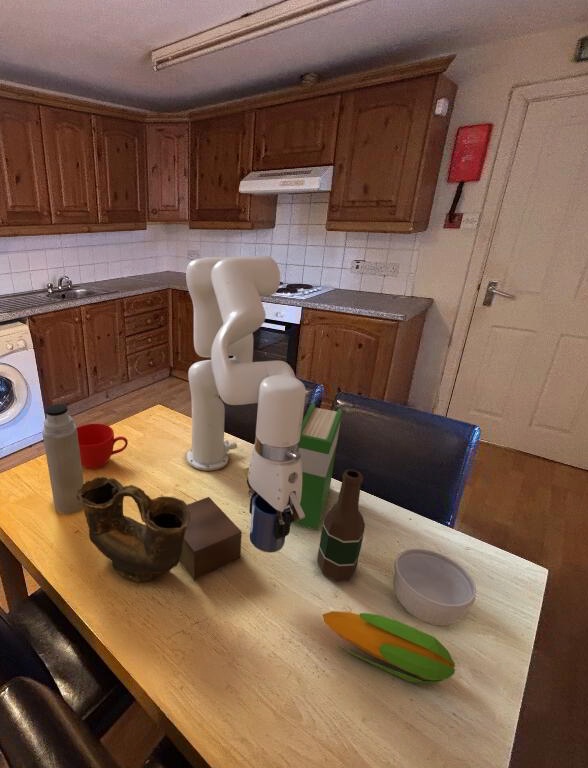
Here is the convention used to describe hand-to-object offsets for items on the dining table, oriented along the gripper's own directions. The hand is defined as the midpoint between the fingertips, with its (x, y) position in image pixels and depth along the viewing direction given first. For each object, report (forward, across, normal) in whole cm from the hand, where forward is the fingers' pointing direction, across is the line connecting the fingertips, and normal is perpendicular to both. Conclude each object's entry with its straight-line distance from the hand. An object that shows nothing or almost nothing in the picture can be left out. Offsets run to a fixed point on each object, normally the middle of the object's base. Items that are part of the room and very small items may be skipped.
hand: (268, 522), depth 80 cm
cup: (+4, 0, 0) cm, 4 cm away
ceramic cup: (+15, +56, +16) cm, 61 cm away
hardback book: (+15, +12, -25) cm, 31 cm away
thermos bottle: (+15, +42, +29) cm, 54 cm away
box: (+15, +12, +7) cm, 20 cm away
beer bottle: (+15, -6, -15) cm, 21 cm away
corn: (+14, -23, -7) cm, 28 cm away
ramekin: (+14, -20, -24) cm, 34 cm away
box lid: (+8, +13, +7) cm, 17 cm away
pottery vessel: (+15, +16, +22) cm, 31 cm away
